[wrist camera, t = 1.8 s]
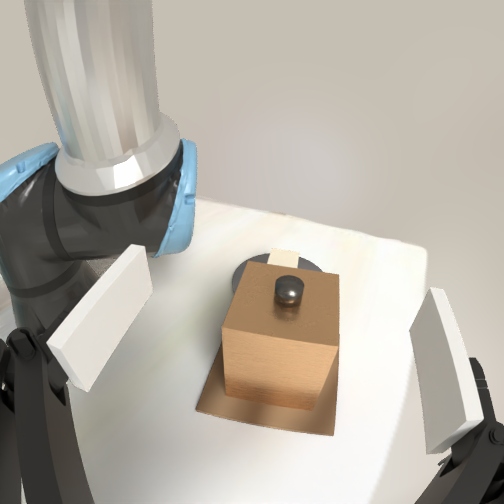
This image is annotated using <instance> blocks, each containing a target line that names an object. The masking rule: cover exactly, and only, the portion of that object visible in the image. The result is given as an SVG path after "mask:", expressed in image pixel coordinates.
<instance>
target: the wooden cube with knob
mask: <svg viewBox="0 0 504 504" xmlns="http://www.w3.org/2000/svg"><path fill="white" fill-rule="evenodd" d="M222 343H223V359H224V374H225V388H226V396H229V397H234V398H238V399H243V400H248V401H253V402H258V403H263V404H269V405H275V406H281V407H287V408H294V409H300V410H308V411H312V410H313V408H314V406H315V403H316V401H317V399H318V397H319V394H320V392H321V390H322V387H323V385H324V383H325V380H326V378H327V375H328V373H329V370H330V368H331V365H332V363H333V360H334V358H335V355H336V353H337V350H338V347H339V275H338V274H332V273H325V272H318V271H312V270H305V269H298V268H292V267H285V266H279V265H272V264H266V263H259V262H253V261H248V262H247V265H246V267H245V270H244V272H243V275H242V277H241V280H240V282H239V285H238V287H237V290H236V292H235V295H234V297H233V300H232V302H231V305H230V307H229V310H228V312H227V315H226V317H225V320H224V322H223V325H222Z"/></svg>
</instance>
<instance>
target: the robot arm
mask: <svg viewBox="0 0 504 504" xmlns="http://www.w3.org/2000/svg"><path fill="white" fill-rule="evenodd" d="M24 4H25V10H26V16H27V21H28V27H29V32H30V37H31V41H32V46H33V50H34V54H35V58H36V62H37V66H38V70H39V74H40V77H41V81H42V84H43V87H44V91H45V95H46V98H47V101H48V104H49V107H50V110H51V113H52V116H53V119H54V122H55V125H56V128H57V131H58V134H59V136H60V139H61V142H62V144H63V145H62V147H61V148H60V149H59V148H58V146H57V144H56V143H54V142H52V143H46V144H43V145H40V146H37V147H35V148H32V149H30V150H28V151H26V152H23V153H21V154H19V155H17V156H16V157H14V158H11V159H10V160H8V161H6V162H4V163H3V164H1V165H0V273H1V275H2V277H3V279H4V281H5V283H6V285H7V288H8V290H9V292H10V295H11V301H12V306H13V311H14V316H15V321H16V326H17V329H15V330H13V331H12V332H11V333H10V334H9V336H8V337H7V340H6V344H7V345H8V347H7V345H6V344H5V342H4V341H3V340H2V339H0V504H21V477H22V483H23V488H24V493H25V498H26V502H27V504H94V501H93V498H92V495H91V492H90V489H89V485H88V482H87V478H86V475H85V471H84V468H83V464H82V460H81V456H80V452H79V447H78V443H77V438H76V434H75V429H74V423H73V418H72V412H71V406H70V399H69V392H68V387H67V384H66V382H67V380H68V379H70V380H71V382H72V383H73V385H74V386H75V387H78V388H80V389H82V390H84V391H86V392H89V390H90V389H91V387H92V385H93V384H94V382H95V380H96V379H97V377H98V376H99V374H100V372H101V371H102V369H103V367H104V366H105V364H106V363H107V361H108V359H109V358H110V356H111V355H112V353H113V352H114V350H115V348H116V347H117V345H118V344H119V342H120V341H121V339H122V338H123V336H124V335H125V333H126V331H127V330H128V328H129V327H130V325H131V324H132V322H133V321H134V319H135V318H136V316H137V315H138V313H139V312H140V310H141V309H142V307H143V306H144V304H145V303H146V301H147V300H148V299H149V297H150V296H151V294H152V293H153V286H152V282H151V277H150V272H149V267H148V262H147V257H155V258H156V257H159V256H160V255H166V254H174V253H180V252H182V251H184V250H185V249H187V247H188V246H189V245H190V243H191V240H192V236H193V228H194V217H195V199H194V198H195V196H196V183H197V182H196V181H197V148H196V144H195V143H194V142H192V141H189V140H186V139H180V134H179V130H178V128H177V125H176V123H175V122H174V121H173V120H172V119H171V118H170V117H168V116H167V115H165V114H163V113H161V112H159V104H158V93H157V81H156V69H155V55H154V39H153V18H152V0H24ZM111 258H118V259H117V260H116V261H115V262H114V263H113V264H112V265H111V266H110V268H109V269H108V270H107V271H106V272H105V273H104V274H103V275H102V276H101V278H99V277H98V276H97V275H96V273H95V272H94V271H93V270H92V268H91V267H90V266H89V264H88V263H87V262H86V260H96V259H111ZM409 332H410V336H411V341H412V346H413V352H414V357H415V363H416V368H417V374H418V381H419V387H420V394H421V402H422V409H423V419H424V429H425V440H426V454H437V453H443V452H445V451H446V450H447V449H448V448H450V447H451V451H452V453H451V454H450V455H449V456H447V457H446V458H444V459H443V460H442V461H440V462H439V463H438V465H439V466H440V465H441V464H442V463H444V464H443V465H442V467H441V468H440V470H439V471H438V473H437V474H436V476H435V477H434V479H433V480H432V481H431V483H430V484H429V485H428V487H427V488H426V489H425V491H424V492H423V493H422V495H421V496H420V497H419V499H418V500H417V501H416V502H415V504H504V426H503V424H501V423H499V422H497V421H496V418H495V414H494V409H493V406H492V401H491V397H490V393H489V390H488V389H487V387H488V386H487V382H486V380H485V375H484V372H483V369H482V367H481V365H480V364H479V362H478V361H477V360H476V358H468V355H467V352H466V348H465V345H464V342H463V340H462V336H461V333H460V331H459V328H458V325H457V322H456V319H455V317H454V314H453V311H452V309H451V306H450V304H449V301H448V299H447V296H446V294H445V291H444V289H439V288H432V287H430V288H429V290H428V292H427V294H426V297H425V299H424V301H423V303H422V305H421V307H420V310H419V312H418V314H417V316H416V318H415V320H414V322H413V324H412V326H411V328H410V330H409ZM2 383H4V384H5V388H4V390H2V388H1V387H2Z"/></svg>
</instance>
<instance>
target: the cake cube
mask: <svg viewBox="0 0 504 504" xmlns="http://www.w3.org/2000/svg"><path fill="white" fill-rule="evenodd" d="M298 259H299V252H296V251H289V250H282V249H275V248H272V249H271V253H270V256H269V259H268V262H267V264H272V265H279V266H285V267H292V268H297V266H298Z"/></svg>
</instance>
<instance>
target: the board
mask: <svg viewBox="0 0 504 504" xmlns="http://www.w3.org/2000/svg"><path fill="white" fill-rule="evenodd" d="M338 366H339V347H338V350H337V353H336V355H335V358H334V360H333V363H332V365H331V368H330V370H329V373H328V375H327V378H326V380H325V383H324V385H323V387H322V390H321V392H320V394H319V397H318V399H317V401H316V403H315V406H314V408H313V410H312V411H308V410H300V409H294V408H287V407H281V406H275V405H269V404H263V403H258V402H253V401H248V400H243V399H238V398H234V397H229V396H226V388H225V374H224V359H223V343H222V342H221V345H220V347H219V350H218V353H217V355H216V358H215V360H214V363H213V366H212V368H211V371H210V374H209V376H208V379H207V381H206V384H205V387H204V389H203V392H202V394H201V397H200V400H199V402H198V405H197V407H196V411H197V412H201V413H205V414H209V415H213V416H217V417H221V418H225V419H229V420H234V421H238V422H243V423H248V424H253V425H258V426H263V427H269V428H275V429H281V430H287V431H294V432H301V433H309V434H318V435H328V436H333V435H334V427H335V415H336V402H337V386H338Z"/></svg>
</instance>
